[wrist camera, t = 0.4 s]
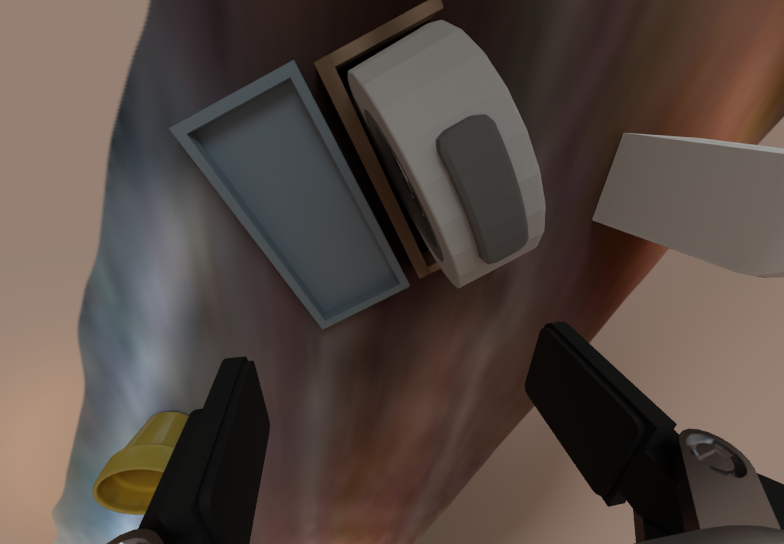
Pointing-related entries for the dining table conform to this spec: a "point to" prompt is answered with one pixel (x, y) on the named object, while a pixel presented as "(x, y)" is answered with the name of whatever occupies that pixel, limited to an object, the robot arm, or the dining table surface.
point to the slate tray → (295, 194)
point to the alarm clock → (453, 149)
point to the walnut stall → (353, 126)
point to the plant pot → (139, 465)
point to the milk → (700, 199)
